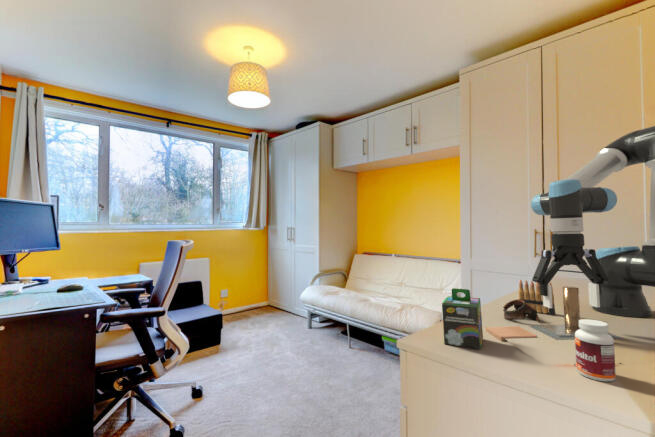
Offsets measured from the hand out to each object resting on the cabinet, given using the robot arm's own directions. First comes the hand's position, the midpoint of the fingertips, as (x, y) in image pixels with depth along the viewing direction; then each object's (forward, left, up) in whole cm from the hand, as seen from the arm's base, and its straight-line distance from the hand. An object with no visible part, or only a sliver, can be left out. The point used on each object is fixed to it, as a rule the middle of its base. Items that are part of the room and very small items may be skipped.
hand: (571, 306), depth 87 cm
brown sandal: (+7, -13, -8) cm, 17 cm away
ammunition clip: (-3, -20, -8) cm, 22 cm away
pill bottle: (+14, +24, -8) cm, 29 cm away
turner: (0, 0, -7) cm, 7 cm away
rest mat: (0, 0, -8) cm, 8 cm away
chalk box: (+33, +4, -8) cm, 34 cm away
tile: (+13, 0, -7) cm, 15 cm away
